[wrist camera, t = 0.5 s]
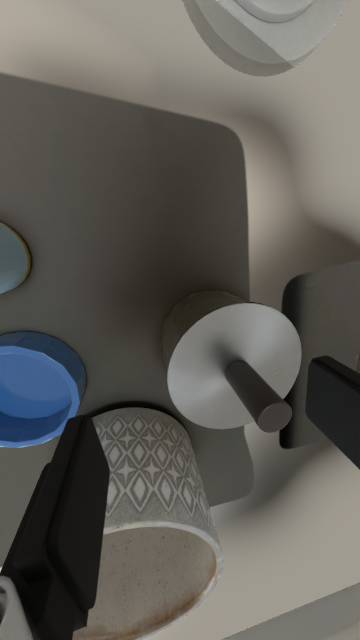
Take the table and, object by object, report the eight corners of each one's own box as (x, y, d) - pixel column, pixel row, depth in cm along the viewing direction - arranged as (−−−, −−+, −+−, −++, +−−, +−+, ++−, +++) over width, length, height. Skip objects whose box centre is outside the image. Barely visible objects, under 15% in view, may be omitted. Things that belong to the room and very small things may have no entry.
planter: (66, 504, 34) (20, 675, 20) (54, 404, 28) (-19, 549, 15) (183, 487, 38) (211, 621, 24) (194, 396, 32) (237, 504, 18)
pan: (-20, 316, 23) (-50, 330, 19) (98, 348, 27) (92, 364, 23) (-38, 410, 26) (-67, 438, 22) (72, 427, 30) (63, 453, 26)
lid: (200, 277, 18) (236, 295, 12) (317, 325, 22) (393, 359, 16) (145, 408, 21) (149, 480, 15) (256, 430, 25) (299, 495, 19)
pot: (183, 274, 26) (205, 286, 18) (267, 308, 30) (315, 330, 22) (147, 364, 29) (152, 409, 21) (227, 385, 32) (257, 430, 25)
